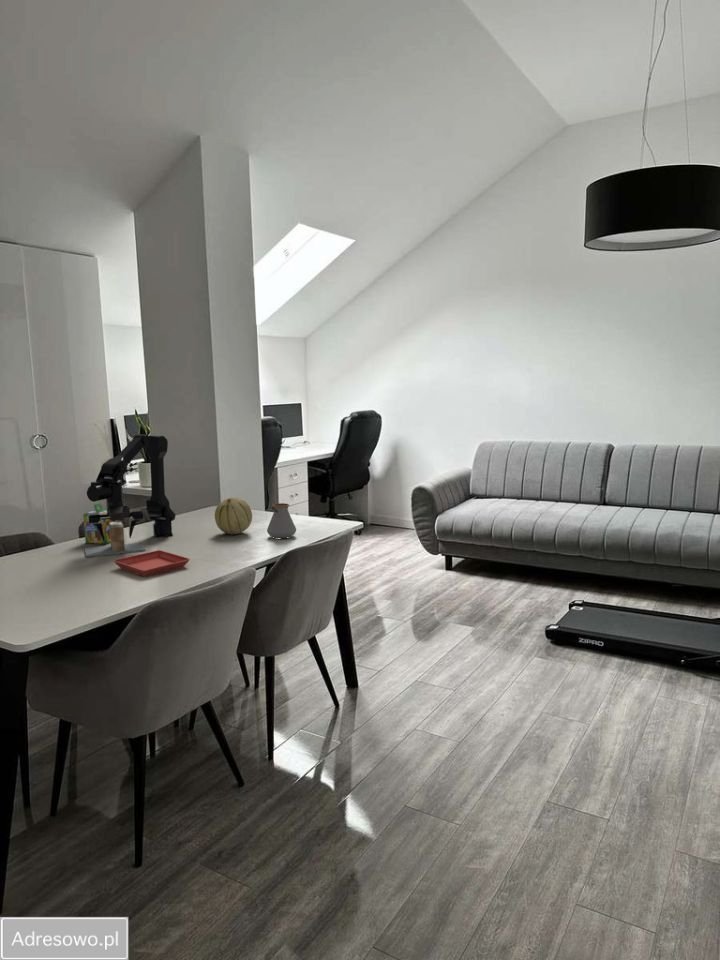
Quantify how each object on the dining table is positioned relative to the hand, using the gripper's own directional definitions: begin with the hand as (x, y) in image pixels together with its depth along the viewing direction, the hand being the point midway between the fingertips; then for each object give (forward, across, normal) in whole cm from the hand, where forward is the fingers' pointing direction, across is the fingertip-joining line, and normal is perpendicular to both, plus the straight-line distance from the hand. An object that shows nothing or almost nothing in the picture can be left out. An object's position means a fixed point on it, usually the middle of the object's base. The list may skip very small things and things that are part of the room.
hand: (116, 539), depth 259 cm
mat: (+4, -1, 0) cm, 4 cm away
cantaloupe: (+4, +45, +7) cm, 46 cm away
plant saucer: (+5, +8, -30) cm, 31 cm away
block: (+4, 0, 0) cm, 4 cm away
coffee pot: (+4, +58, -11) cm, 59 cm away
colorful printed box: (+4, -4, +17) cm, 18 cm away
